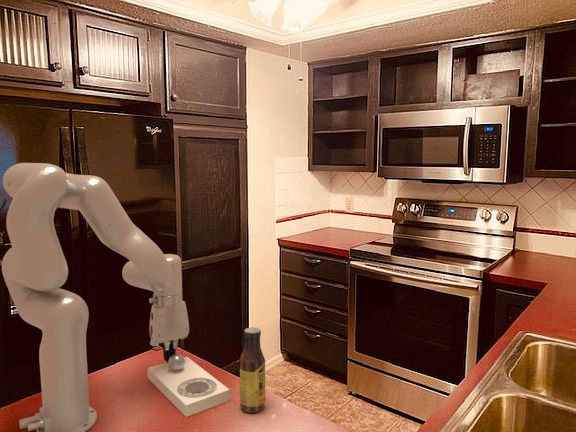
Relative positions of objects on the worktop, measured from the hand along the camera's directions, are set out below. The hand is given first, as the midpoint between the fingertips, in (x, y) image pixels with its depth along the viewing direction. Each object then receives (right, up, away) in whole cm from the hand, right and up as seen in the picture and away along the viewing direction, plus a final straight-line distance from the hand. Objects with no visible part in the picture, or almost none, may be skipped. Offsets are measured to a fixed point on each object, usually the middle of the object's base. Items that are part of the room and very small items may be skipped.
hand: (169, 361), depth 129 cm
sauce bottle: (+25, -6, -16) cm, 30 cm away
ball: (+3, +1, -4) cm, 5 cm away
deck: (+7, -5, -8) cm, 11 cm away
